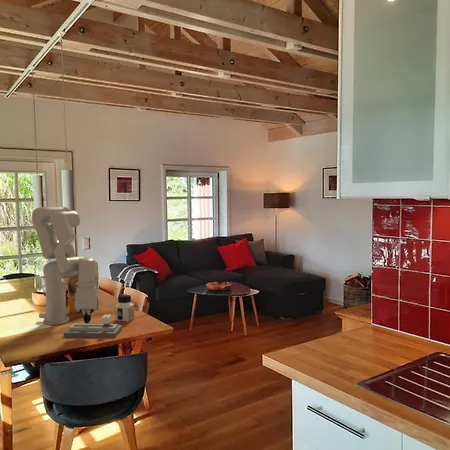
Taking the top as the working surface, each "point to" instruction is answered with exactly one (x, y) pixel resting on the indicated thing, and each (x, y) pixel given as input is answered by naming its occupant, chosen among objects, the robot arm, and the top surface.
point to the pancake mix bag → (72, 288)
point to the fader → (106, 320)
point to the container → (124, 308)
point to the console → (92, 330)
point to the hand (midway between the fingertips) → (87, 322)
